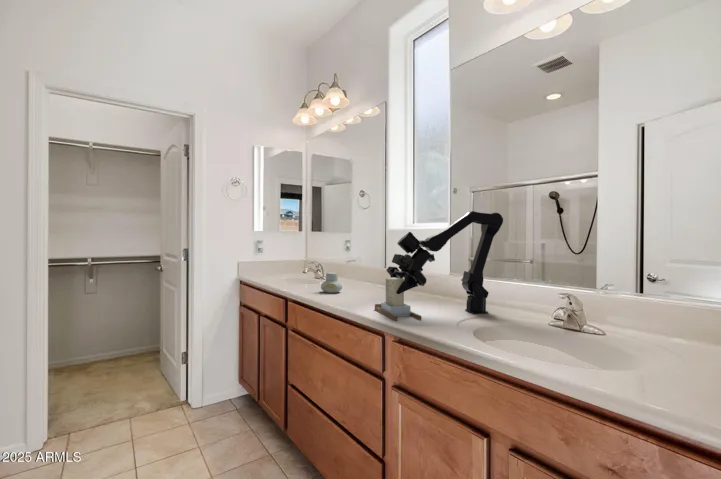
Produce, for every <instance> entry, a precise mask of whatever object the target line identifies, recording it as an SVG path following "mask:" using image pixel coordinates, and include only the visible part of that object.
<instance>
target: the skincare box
mask: <svg viewBox="0 0 721 479" xmlns="http://www.w3.org/2000/svg"><path fill="white" fill-rule="evenodd" d="M403 281H404V278H403V279H402V278H395V277H393V278H391V277H385V302H386V304H388V305H390V306H404V303H405V301H404V300H405V298H404V297H405V295H404V294H405V292H402V293H400V294H397V293H396V292H397V290H398V288H399V287H400V285H401V284H402V282H403Z"/></svg>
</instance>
